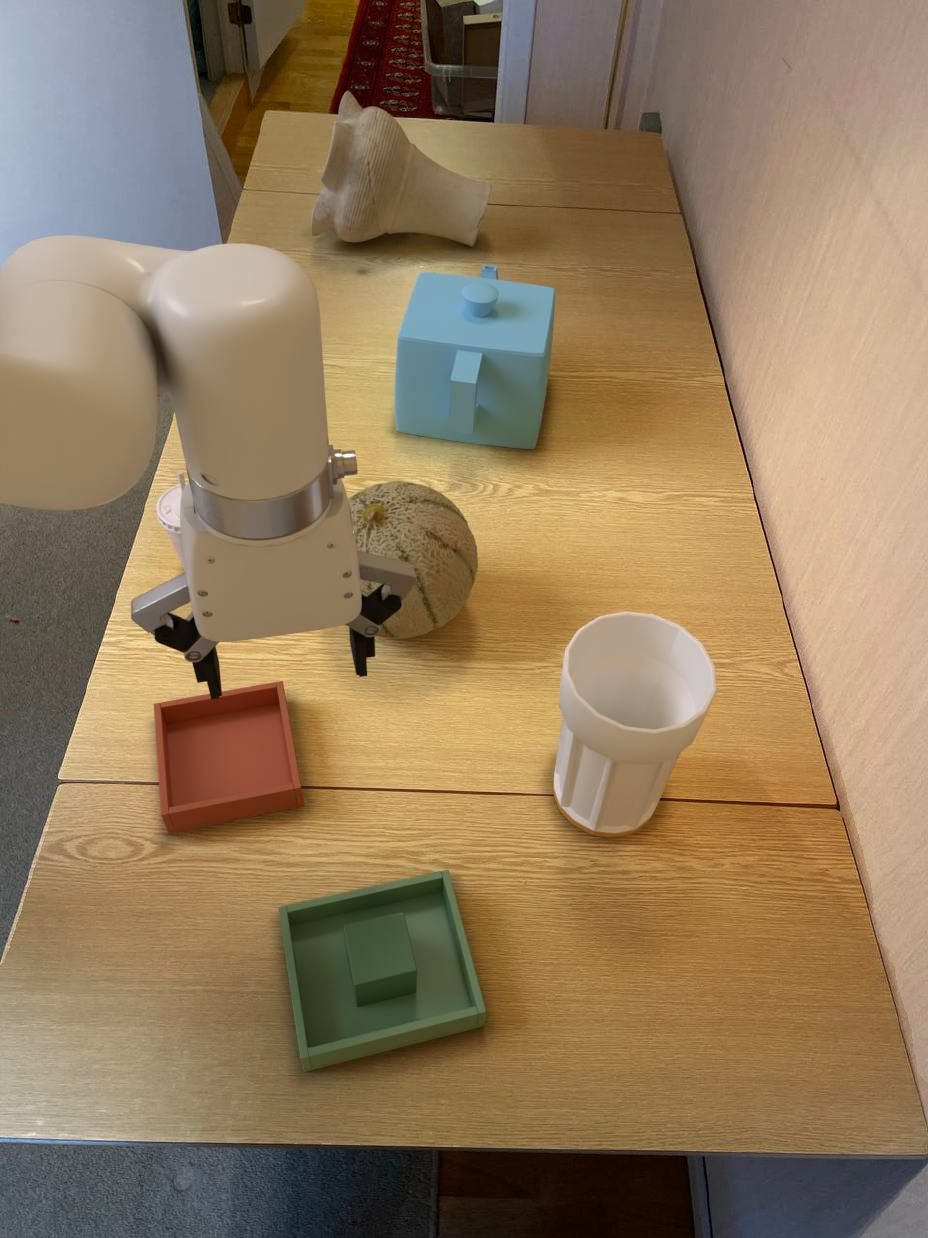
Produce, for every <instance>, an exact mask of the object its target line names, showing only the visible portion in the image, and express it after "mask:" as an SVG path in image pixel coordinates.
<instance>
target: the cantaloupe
mask: <svg viewBox="0 0 928 1238" xmlns="http://www.w3.org/2000/svg"><path fill="white" fill-rule="evenodd" d="M348 501H349V505H350V511H351V516H352V521H353V526H354V533H355V540H356V546H357V550H358V551H363V552H367V553H371V554H375V555H380V556H384V557H388V558H392V559H397V560H401V561H405V562H409V563H412V564H413V566H414V570H415V574H416V577H417V582H416V584H415V585H414V587H413V588H412V590H411V591H410V593H409V594H408V595H407V597H406V598H404V599H403V600H402V602H401V603H402V607H401V608H400V610H398V611H397V612H396V613H395V614H393V615H392V616H391V617H390V618H388V619H387V620H386V621H385V622H383V623H382V624H381V625H380V633H379V634H378V635H376V636H375V637H381V638H386V639H411V638H416V637H419V636H423V635H426V634H429V633H430V632H432V631H434V630H436V629H439V628H442V627H443V626H444V625H445V624H447V623H448V622H450V621H451V620H452V619H453V618H455V617H456V616H457V615H458V614H459V613H460V612H461V610H462V608H463V607H464V605H466V602H467V601H468V599H469V598H470V595H471V591H472V589H473V587H474V585H475V582H476V577H477V573H478V567H479V558H478V545H477V544H476V539H475V535H474V534H473V532H472V531H471V529H470V526H469V524H468V519H466V518H465V516H464V514H463V513H462V512H461V510H460V508H459V507H457V505H456V504H455V503H454V502H453V501H452V500H451V499H449V498H448V497H447V496H446V495H444V494H443V493H442V492H440V491H438V490H436V489H434V488H431V487H430V486H427V485H425V484H424V485H423V484H421V483H414V482H409V481H401V480H393V481H388V482H384V483H382V482H381V483H375V484H372V485H370V486H367V487H365V488H364V489H362V490H360V491H358V492H357V493H355V494H353V495H351V496H350V497H348ZM360 581H361V589H362V590H364V591H365V592H367V593H368V594H371V593H372V592H373V591H374V590H376V589H377V588H378V587H379V586H380V585H382V584H380V583H376V582H371V581H367V580H362V579H360Z"/></svg>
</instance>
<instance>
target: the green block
mask: <svg viewBox="0 0 928 1238" xmlns="http://www.w3.org/2000/svg"><path fill="white" fill-rule="evenodd" d="M343 930H344V938H345V945H346V952H347V958H348V963H349V968H350V974H351V979H352V984H353V990H354V995H355V1001H356V1006H357V1007H360V1006H364V1005H368V1004H372V1003H376V1002H380V1001H384V1000H388V999H392V998H397V997H401V996H405V995H409V994H413V993H416V992H417V967H416V963H415V959H414V954H413V950H412V946H411V941H410V937H409V933H408V928H407V924H406V920H405V915H404V912H399V913H395V914H390V915H386V916H381V917H377V918H373V919H368V920H364V921H359V922H355V923H351V924H346V925H343Z"/></svg>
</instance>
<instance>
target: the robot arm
mask: <svg viewBox="0 0 928 1238" xmlns="http://www.w3.org/2000/svg"><path fill="white" fill-rule="evenodd" d="M321 322H322V321H321V311H320V302H319V296H318V291H317V289H316V286H315V284H314V281H313V280H312V278H311V276H310V274H309V273H308V271H307V270H305V268H304V267H303V266H302V265H301V264H300V263H299V261H297V260H295V259H294V258H293V257H291V256H289V255H288V254H285V253H283V252H281V251H279V250H277V249H274V248H272V247H269V246H265V245H259V244H252V243H244V242H243V243H242V242H241V243H240V242H239V243H237V242H232V243H219V244H215V245H209V246H205V247H201V248H197V249H195V250H191V251H190V250H184V249H183V250H181V249H173V248H165V247H158V246H152V245H146V244H139V243H133V242H127V241H121V240H115V239H108V238H101V237H97V236H95V237H94V236H89V235H77V234H76V235H75V234H61V235H49V236H45V237H40V238H36V239H33V240H30V241H29V242H27V243H25V244H23V245H21V246H19V248H17V249H16V250H14V252H12V253H11V254H10V255H9V257H8V258H7V259H6V260H5V262H4V263H3V265H2V267H1V269H0V504H3V505H9V506H14V507H19V508H25V509H31V510H40V511H61V512H64V511H65V512H67V511H68V512H70V511H79V510H80V511H81V510H87V509H94V508H97V507H100V506H104V505H106V504H109V503H111V502H113V501H116V500H117V499H118V498H120V497H122V496H124V495H125V494H126V493H127V492H129V491H130V490H132V488H133V487H134V486H135V485H137V484H138V483H139V481H140V480H141V478H142V477H143V475H144V473H145V472H146V470H147V469H148V467H149V465H150V462H151V459H152V456H153V453H154V450H155V445H156V438H157V437H156V436H157V425H158V424H157V422H158V407H159V406H158V403H159V393H161V394H163V395H165V396H167V397H168V399H169V400H170V402H171V404H172V407H173V412H174V416H175V420H176V425H177V430H178V434H179V439H180V444H181V449H182V452H183V459H184V462H185V469H186V473H187V478H188V482H189V483H188V482H187V483H188V484H187V485H186V486H185V488H184V489H183V491H182V495H181V504H180V528H181V539H182V548H183V556H184V563H185V570H186V572H185V570H184V572H183V573H181V574H179V575H176V576H175V577H173V578H171V579H169V580H167V581H165V582H163V583H161V584H159V585H157V586H155V587H153V588H152V589H150V590H147V591H145V592H144V593H141V594H139V595H137V596H136V597H134V598H132V600H130V620H132V621H133V622H134V623H135V624H136V625H138V627H140V628H141V629H143V630H144V631H145V632H146V633H148V634H151V635H153V637H154V641H155V642H156V643H158V644H160V645H163V646H165V647H168V648H170V649H173V650H174V651H178V652H180V653H182V654H183V657H184V660H185V661H187V662H189V663H192V667H193V671H194V675H195V679H196V683H198V684H199V683H200V684H201V683H204V682H206V684H207V688H208V692H209V694H210V696H211V699H217V698H219V696H222V690H223V689H222V679H221V668H220V667H221V666H220V660H219V656H218V655H219V654H218V651H217V645H218V644H219V643H232V642H241V641H242V642H243V641H250V640H258V639H264V638H272V637H279V636H288V635H292V634H293V635H294V634H300V633H306V632H307V633H308V632H314V631H320V630H327V629H332V628H337V627H341V626H344V625H345V626H347V627H348V633H349V635H348V636H349V646H350V651H351V656H352V661H353V665H354V671H355V675H356V676H357V677H358V676H359V678H364V677H368V660H367V659H369V658H375V657H376V637H377V636H376V635H378V634H379V633H380V625H381V624H382V623H383V622H385V621H386V620H387V619H388V618H390V617H391V616H392V615H393V614H395V613H396V612H397V611H398V610H400V608H401V607H402V603H401V602H402V600H403V599H404V598H406V597H407V595H408V594H409V593H410V591H411V590H412V588H413V587H414V585H415V584H416V582H417V577H416V574H415V570H414V566H413V564H412V563H409V562H405V561H401V560H397V559H392V558H388V557H384V556H380V555H375V554H371V553H367V552H363V551H358V550H357V546H356V540H355V533H354V526H353V521H352V516H351V511H350V505H349V501H348V498H349V497H348V494H347V491H346V488H345V487H346V486H345V484H344V482H343V479H345V477H346V476H355V475H358V462H357V456H356V455H357V454H356V451H355V450H353V449H352V450H344V451H342V449H341V448H340V449H339V448H338V449H334V445H333V444H330V441H329V440H330V439H329V428H328V427H329V426H328V413H327V402H326V401H327V400H326V399H327V398H326V387H325V386H326V385H325V383H326V382H325V370H324V355H323V339H322V323H321ZM360 579H362V580H367V581H371V582H376V583H380V584H382V585H380V586H379V587H378V588H377V589H376V590H374V591H373V592H372V593H371V594H368V593H367V592H365V591H364V590H362V589H361V581H360ZM189 603H190V606H191V610H192V611H191V612H190V613H189V615H187V617H186V618H183V617H181V616H179V615H176V614H174V613H172V612H173V611H175V610H176V609H179V608H181V607H183V606H184V605H186V604H189Z"/></svg>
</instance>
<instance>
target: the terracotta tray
mask: <svg viewBox="0 0 928 1238" xmlns="http://www.w3.org/2000/svg"><path fill="white" fill-rule="evenodd" d="M153 716H154V717H153V718H154V728H155V729H154V730H155V745H156V755H157V756H156V758H157V761H156V762H157V773H158V774H157V775H158V787H159V788H158V789H159V801H160V802H159V804H160V815H161V818H162V821H163V822H164V826H165V828H166V831H167V833H168V834H174V833H178V832H184V831H188V830H193V829H197V828H204V827H207V826H208V827H209V826H212V825H218V824H222V823H227V822H233V821H238V820H242V819H247V818H253V817H257V816H262V815H267V814H272V813H277V812H281V811H287V810H292V809H297V808H301V807H305V802H304V795H303V789H302V783H301V777H300V772H299V771H300V770H299V765H298V761H297V753H296V748H295V743H294V737H293V732H292V726H291V721H290V714H289V708H288V703H287V696H286V691H285V686H284V681H283V680H279V681H274V682H268V683H262V684H256V685H251V686H246V687H240V688H239V687H238V688H234V689H229V690H223V691H222V696H219V698H217V699H211V696H210V693H207V694H206V693H205V694H200V695H194V696H190V697H189V696H188V697H183V698H177V699H172V700H166V701H161V702H156V703H153Z"/></svg>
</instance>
